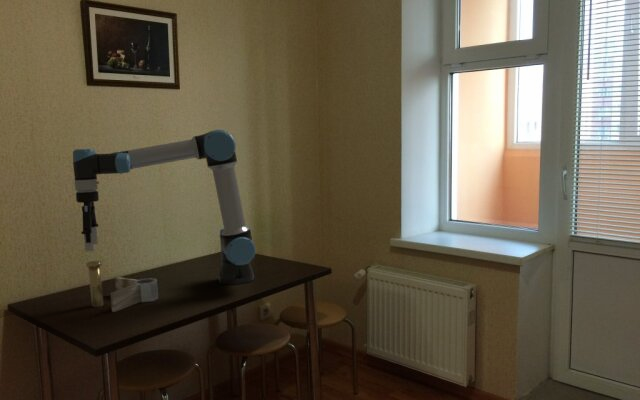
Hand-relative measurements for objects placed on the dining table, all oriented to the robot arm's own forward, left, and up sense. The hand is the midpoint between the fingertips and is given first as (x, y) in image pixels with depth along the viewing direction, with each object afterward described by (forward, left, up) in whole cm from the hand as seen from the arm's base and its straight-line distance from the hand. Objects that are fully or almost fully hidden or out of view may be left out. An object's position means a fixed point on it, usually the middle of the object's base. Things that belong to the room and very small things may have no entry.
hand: (91, 247), depth 195 cm
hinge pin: (0, 0, -22) cm, 22 cm away
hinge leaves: (-4, -5, -22) cm, 23 cm away
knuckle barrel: (-12, -13, -22) cm, 29 cm away
